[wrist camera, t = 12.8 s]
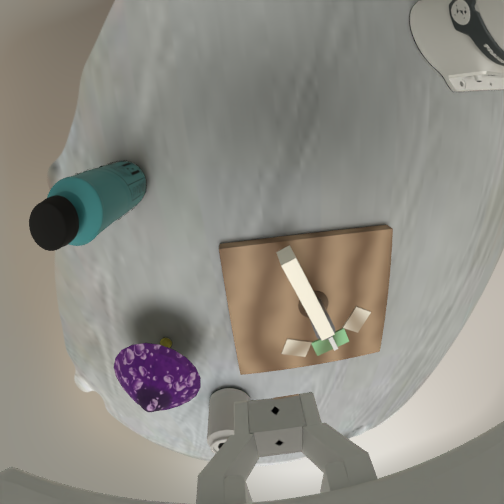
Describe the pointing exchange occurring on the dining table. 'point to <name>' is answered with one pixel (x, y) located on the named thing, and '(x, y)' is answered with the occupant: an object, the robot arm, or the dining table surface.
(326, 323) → the cream lever
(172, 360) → the decorative mushroom
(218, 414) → the can
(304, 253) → the board
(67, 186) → the beverage bottle
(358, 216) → the dining table surface
